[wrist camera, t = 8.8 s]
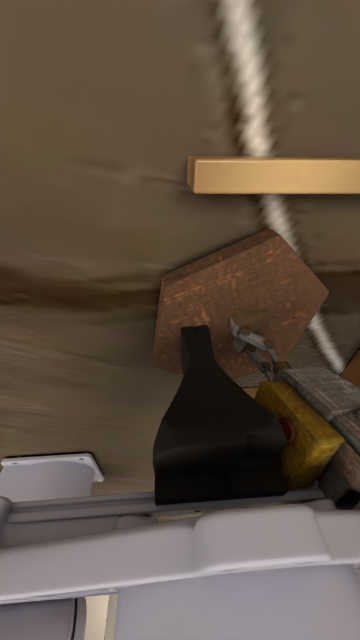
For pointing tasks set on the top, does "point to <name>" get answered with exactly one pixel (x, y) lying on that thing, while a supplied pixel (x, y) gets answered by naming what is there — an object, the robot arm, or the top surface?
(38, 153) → the top surface
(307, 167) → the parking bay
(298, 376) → the robot figurine
